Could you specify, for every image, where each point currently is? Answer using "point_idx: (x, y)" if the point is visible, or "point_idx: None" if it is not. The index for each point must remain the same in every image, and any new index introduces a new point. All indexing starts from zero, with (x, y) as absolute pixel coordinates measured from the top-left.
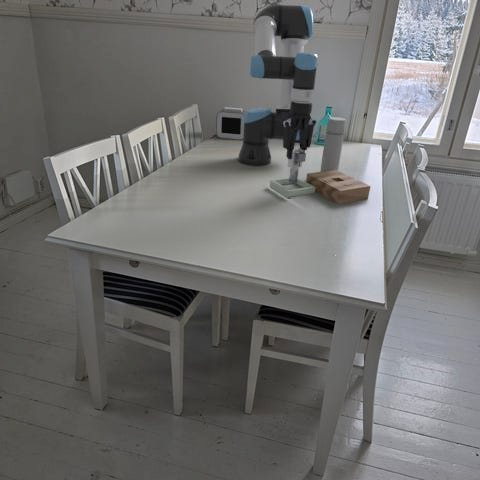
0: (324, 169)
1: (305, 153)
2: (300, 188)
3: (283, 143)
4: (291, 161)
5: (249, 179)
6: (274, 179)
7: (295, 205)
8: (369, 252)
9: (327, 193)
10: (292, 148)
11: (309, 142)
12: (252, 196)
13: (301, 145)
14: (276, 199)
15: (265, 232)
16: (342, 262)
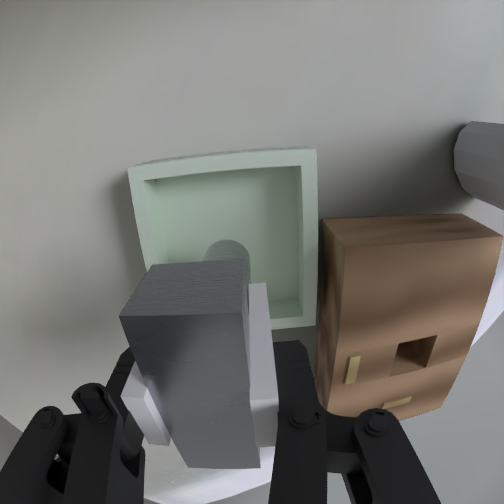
0: (487, 176)
1: (254, 467)
2: None
3: (23, 443)
4: None
5: (102, 37)
6: (154, 163)
7: None
8: (228, 489)
9: (321, 372)
10: (130, 461)
11: (370, 496)
12: (51, 247)
13: (294, 446)
14: (126, 300)
15: None
16: (174, 488)
